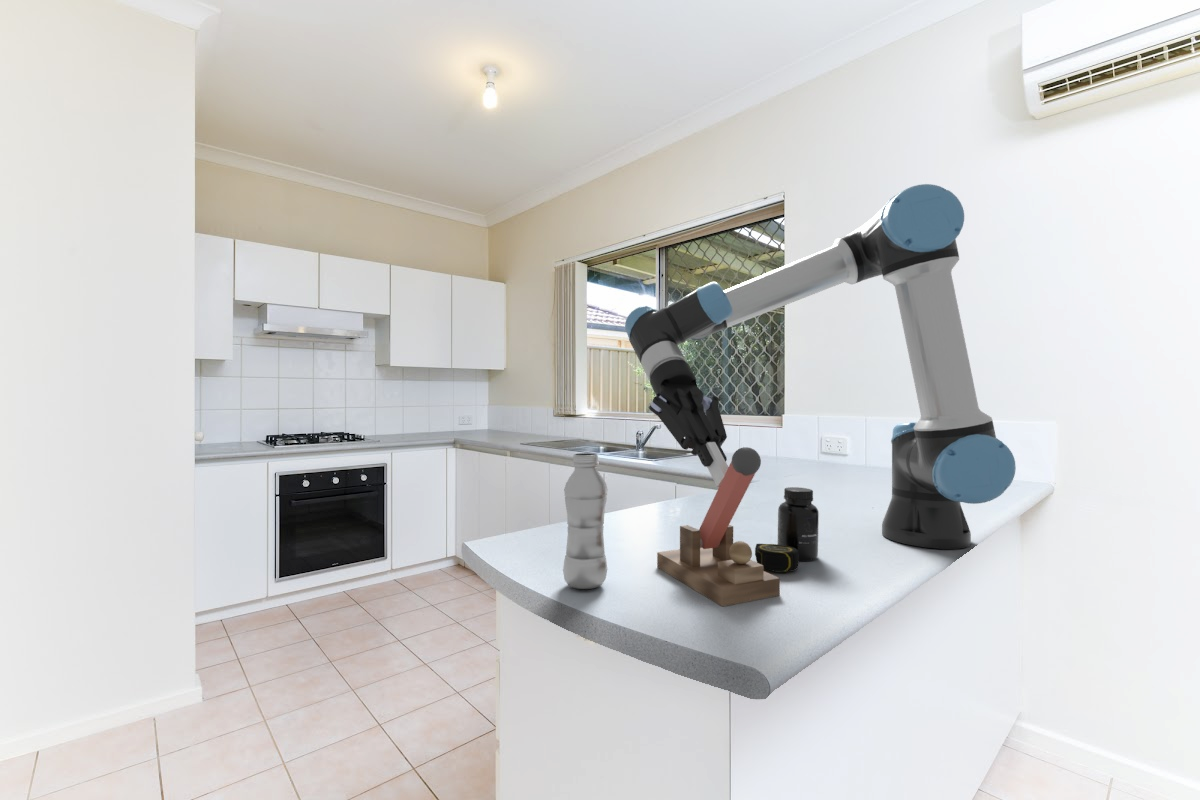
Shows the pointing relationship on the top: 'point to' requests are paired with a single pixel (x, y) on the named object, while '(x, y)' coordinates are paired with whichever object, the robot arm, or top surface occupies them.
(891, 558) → the top surface
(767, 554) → the tape measure
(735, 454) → the lever
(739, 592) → the cracker base
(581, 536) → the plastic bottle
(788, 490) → the supplement bottle
